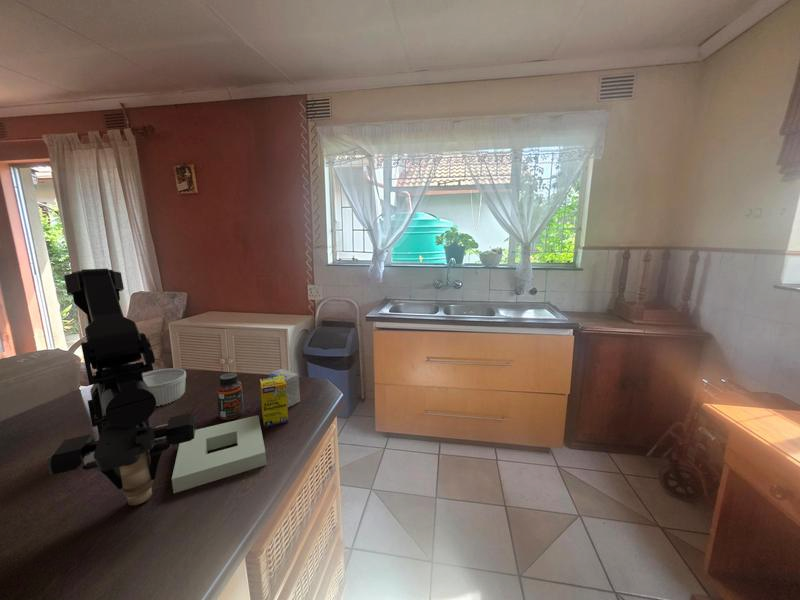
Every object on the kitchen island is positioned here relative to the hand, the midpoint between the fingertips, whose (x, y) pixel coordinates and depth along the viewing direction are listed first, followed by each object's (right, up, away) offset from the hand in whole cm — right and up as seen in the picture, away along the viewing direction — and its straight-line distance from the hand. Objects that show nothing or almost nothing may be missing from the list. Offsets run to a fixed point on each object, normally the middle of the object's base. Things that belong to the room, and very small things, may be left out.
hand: (137, 482), depth 56 cm
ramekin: (-24, +3, +37) cm, 44 cm away
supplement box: (+14, +1, +26) cm, 30 cm away
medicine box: (+13, +3, +36) cm, 38 cm away
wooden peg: (0, -3, +1) cm, 3 cm away
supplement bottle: (+1, +1, +29) cm, 29 cm away
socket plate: (+8, -1, +13) cm, 15 cm away
